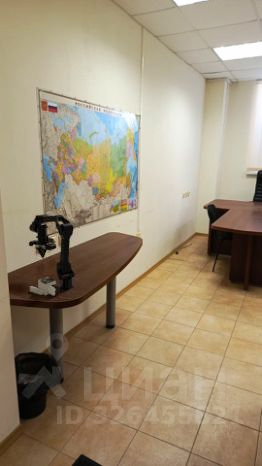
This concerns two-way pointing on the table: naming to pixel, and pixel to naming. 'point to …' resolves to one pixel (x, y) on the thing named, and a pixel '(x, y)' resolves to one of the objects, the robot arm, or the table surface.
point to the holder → (36, 290)
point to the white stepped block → (48, 286)
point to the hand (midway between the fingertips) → (42, 257)
